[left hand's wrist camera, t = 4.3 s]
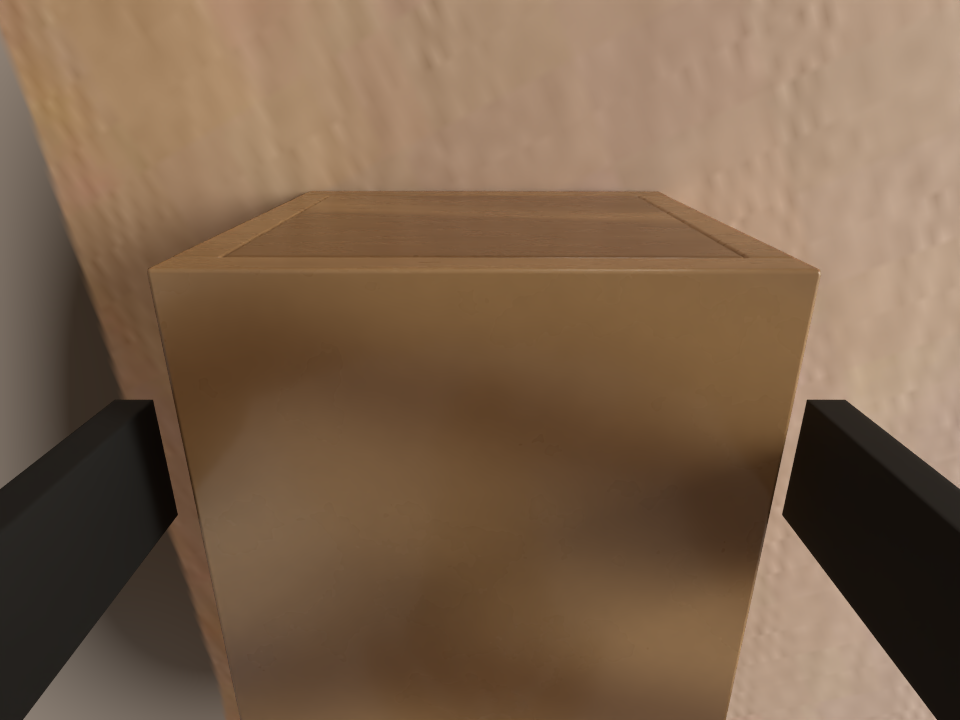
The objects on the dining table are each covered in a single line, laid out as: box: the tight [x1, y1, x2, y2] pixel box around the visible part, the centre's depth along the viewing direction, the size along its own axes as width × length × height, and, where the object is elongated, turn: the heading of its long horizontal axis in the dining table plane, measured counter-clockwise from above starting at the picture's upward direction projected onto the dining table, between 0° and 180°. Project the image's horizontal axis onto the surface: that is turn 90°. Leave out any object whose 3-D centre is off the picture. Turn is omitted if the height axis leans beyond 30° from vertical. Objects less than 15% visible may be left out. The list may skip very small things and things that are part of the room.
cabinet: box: [147, 191, 821, 720], centre depth 18 cm, size 19×11×10 cm, turn 0°
